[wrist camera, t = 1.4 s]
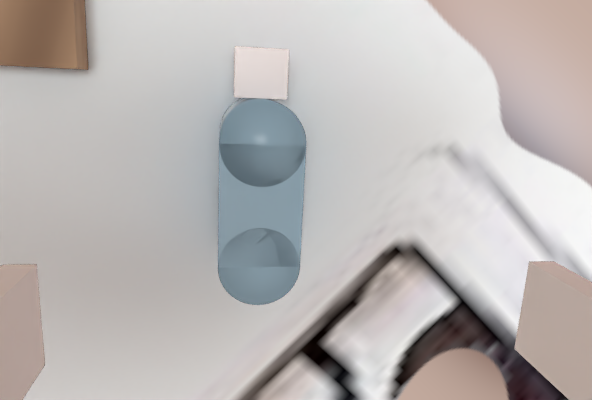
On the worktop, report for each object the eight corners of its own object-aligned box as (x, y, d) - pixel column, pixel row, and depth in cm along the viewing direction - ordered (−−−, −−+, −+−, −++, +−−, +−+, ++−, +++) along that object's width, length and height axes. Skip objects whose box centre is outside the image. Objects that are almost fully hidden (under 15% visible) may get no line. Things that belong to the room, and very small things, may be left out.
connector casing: (218, 261, 29) (217, 305, 24) (220, 50, 27) (220, 41, 21) (283, 261, 30) (297, 304, 24) (292, 54, 27) (311, 47, 21)
